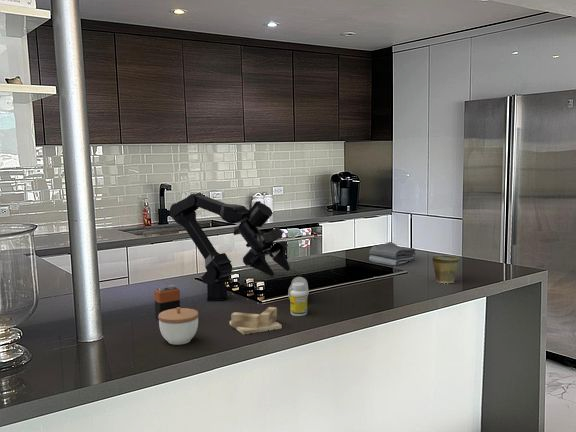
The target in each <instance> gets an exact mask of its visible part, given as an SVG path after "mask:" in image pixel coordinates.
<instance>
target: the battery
mask: <svg viewBox="0 0 576 432" xmlns="http://www.w3.org/2000/svg"><path fill="white" fill-rule="evenodd" d="M180 292H181V290H180V288H178V287H176V285H175V284H170V285H167V287H164V286H160V287H159V288H157V289H154V314H155V315H154V317H155V318H156V319H157V320H159V318H158V315H159V314H160V313H161V312H163V311H165V310H169V309H176V308H177V307H180V308H181V297H180V295H181V293H180Z"/></svg>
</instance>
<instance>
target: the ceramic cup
mask: <svg viewBox="0 0 576 432" xmlns="http://www.w3.org/2000/svg"><path fill="white" fill-rule="evenodd" d="M459 261H460V257H459V256H457V255H450V254H435V255H433V256H432V264H433V269H434V275H435V282H436V283H437V282H438V283H437V284H440V283H444V284H443V285H449V284H448V283H453V284H454V283H455V279H456V273H457V269H458V267H459ZM445 283H447V284H445Z"/></svg>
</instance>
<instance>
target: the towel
mask: <svg viewBox="0 0 576 432" xmlns="http://www.w3.org/2000/svg"><path fill="white" fill-rule="evenodd" d="M368 253H369V255H370V256H369V257H368V260H369V261H370V262H372V263H377V264H382V265H388V266H393V265H394V266H396V265H398V266H400V265H399V264H401V265H403V263H404V264H406V262H407V263H409V262H412V260H413V261H415V256H416V254H417V253H416V248H413V247H406V246H405V247H404V246H399V245H397V244H396V243H394V242H392V241H387V242H385V243H383V244H382V243H381V244H378V245H375V246H371V247H370V249H369V250H368ZM408 261H409V262H408ZM396 267H397V266H396Z"/></svg>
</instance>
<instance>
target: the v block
mask: <svg viewBox="0 0 576 432" xmlns="http://www.w3.org/2000/svg"><path fill="white" fill-rule="evenodd" d="M230 318H231V320H229V325H230V326H231V327H232V328H234V329H235V330H237V331H238V332H239V333H241V335H243V336H245V334H246V335H251V334H250V333H252V334H256V333H257V332H258V333H263V332H268V330H269V331H275V330H279V329H282V328H283V327H282V326H283V325H282V324H281V323H280V322H278V321H276V320H277V319H278V308H277V307H275V306H269V307H267V308H266V309H265V310H264V311H263V312H261V313H260V314H259V313H248V312H236V311H235V312H232V313H231V315H230ZM274 329H275V330H274ZM258 333H257V334H258Z"/></svg>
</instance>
